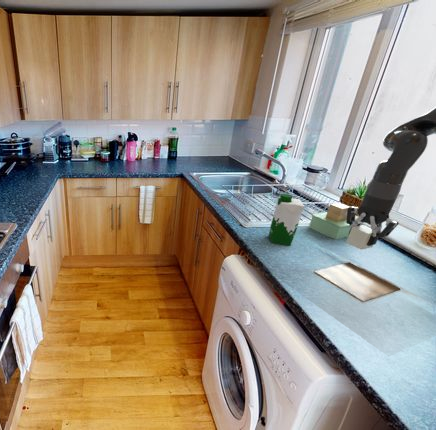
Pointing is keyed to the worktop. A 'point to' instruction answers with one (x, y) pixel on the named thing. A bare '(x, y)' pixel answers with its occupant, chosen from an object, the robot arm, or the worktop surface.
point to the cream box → (359, 236)
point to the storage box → (329, 226)
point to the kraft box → (337, 212)
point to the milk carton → (285, 220)
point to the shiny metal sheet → (357, 281)
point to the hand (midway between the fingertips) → (360, 241)
